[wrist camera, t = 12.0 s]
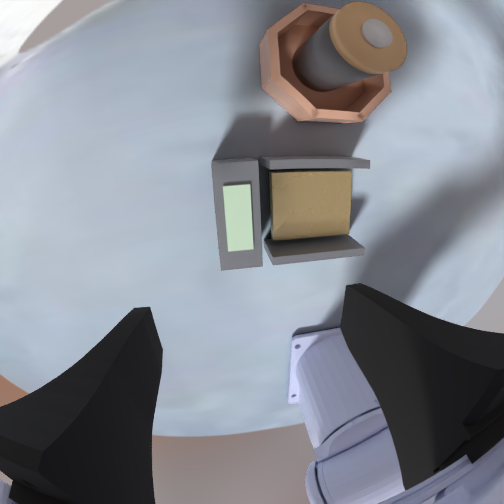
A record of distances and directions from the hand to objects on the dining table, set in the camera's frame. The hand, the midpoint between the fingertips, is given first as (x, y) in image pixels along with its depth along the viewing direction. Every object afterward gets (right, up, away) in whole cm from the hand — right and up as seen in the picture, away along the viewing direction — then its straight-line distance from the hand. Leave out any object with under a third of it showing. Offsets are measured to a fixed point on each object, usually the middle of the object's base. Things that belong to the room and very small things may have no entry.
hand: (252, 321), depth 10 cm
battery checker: (+2, +6, +8) cm, 10 cm away
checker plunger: (+4, +6, +8) cm, 10 cm away
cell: (+4, +14, +4) cm, 15 cm away
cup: (+4, +14, +5) cm, 16 cm away
